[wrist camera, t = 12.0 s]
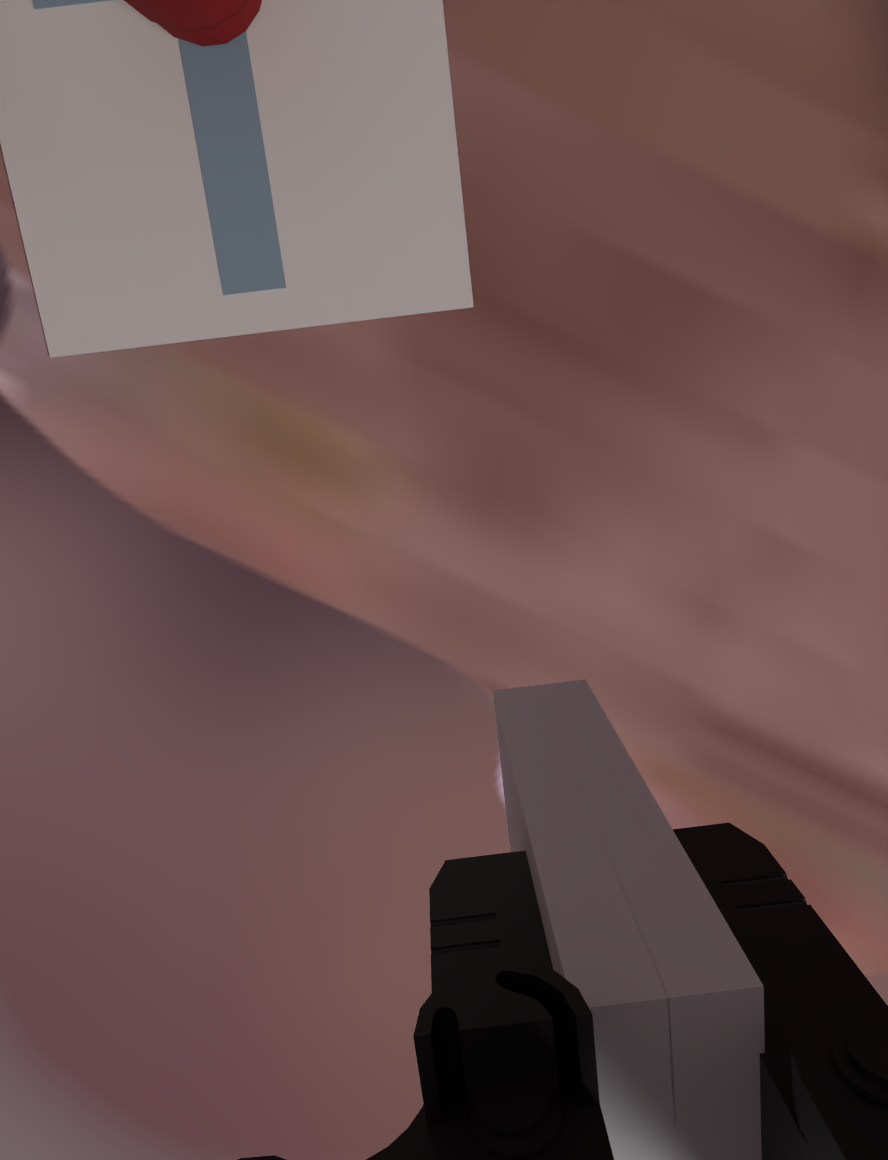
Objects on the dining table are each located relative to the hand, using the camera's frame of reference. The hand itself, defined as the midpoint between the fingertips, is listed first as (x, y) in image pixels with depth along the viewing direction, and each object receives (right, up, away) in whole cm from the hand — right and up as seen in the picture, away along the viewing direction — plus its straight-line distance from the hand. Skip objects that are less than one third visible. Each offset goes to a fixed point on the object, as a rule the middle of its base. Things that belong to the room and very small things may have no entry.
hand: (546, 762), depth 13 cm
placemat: (-12, +26, +24) cm, 38 cm away
